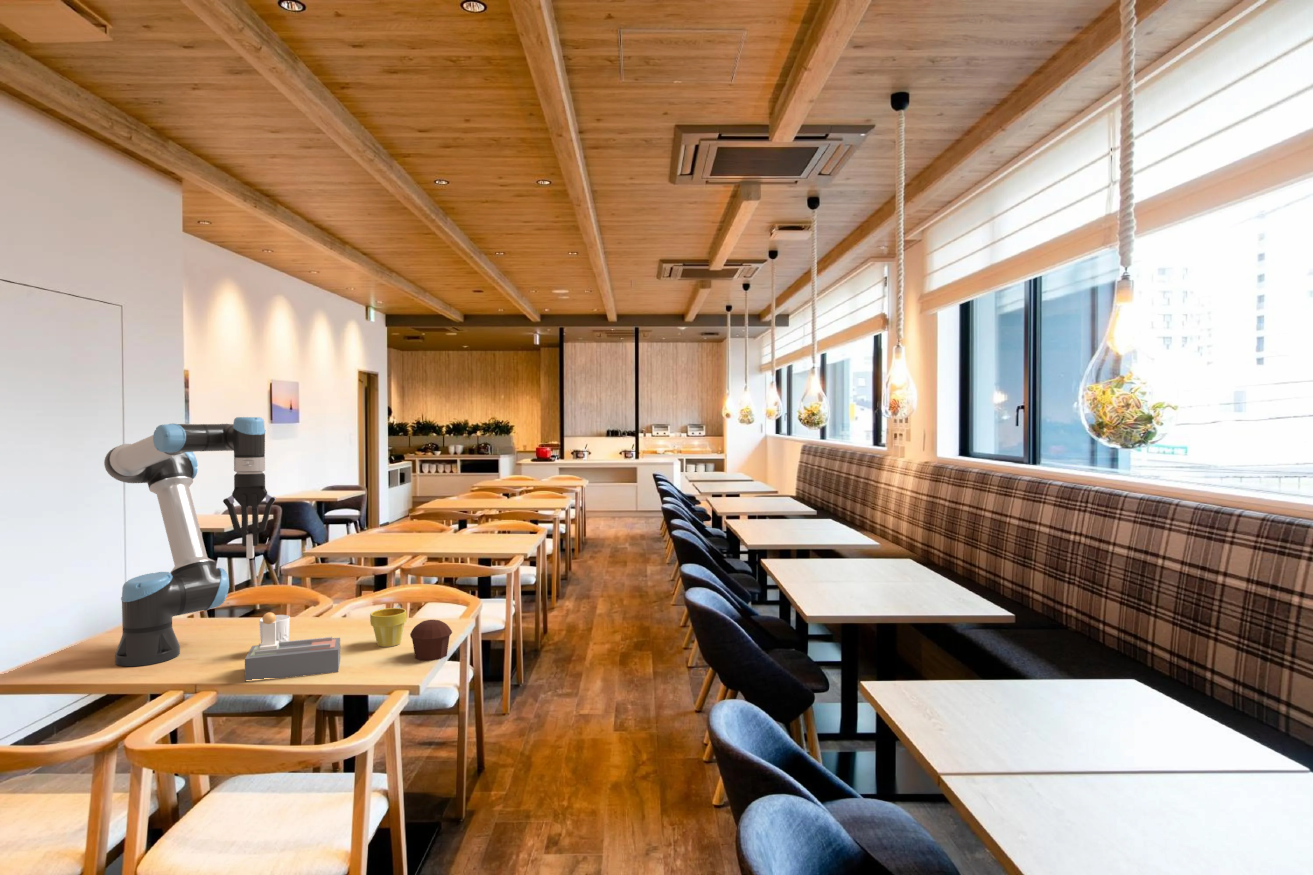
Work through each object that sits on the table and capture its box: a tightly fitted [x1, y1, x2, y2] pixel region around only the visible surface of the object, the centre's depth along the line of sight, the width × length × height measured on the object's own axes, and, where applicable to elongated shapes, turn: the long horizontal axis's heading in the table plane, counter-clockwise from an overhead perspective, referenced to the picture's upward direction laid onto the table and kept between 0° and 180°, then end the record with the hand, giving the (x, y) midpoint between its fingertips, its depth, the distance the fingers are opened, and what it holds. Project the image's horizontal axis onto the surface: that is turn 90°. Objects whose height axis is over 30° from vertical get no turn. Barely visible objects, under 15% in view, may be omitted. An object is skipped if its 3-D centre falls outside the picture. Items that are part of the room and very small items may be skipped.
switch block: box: [244, 636, 341, 681], centre depth 198 cm, size 12×22×7 cm, turn 111°
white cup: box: [258, 614, 291, 644], centre depth 214 cm, size 8×8×10 cm
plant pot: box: [369, 607, 408, 648], centre depth 222 cm, size 10×10×10 cm
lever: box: [260, 612, 279, 650], centre depth 196 cm, size 5×4×10 cm
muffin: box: [409, 619, 453, 662], centre depth 210 cm, size 12×11×10 cm
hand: (250, 557), depth 204 cm, fingers closed
